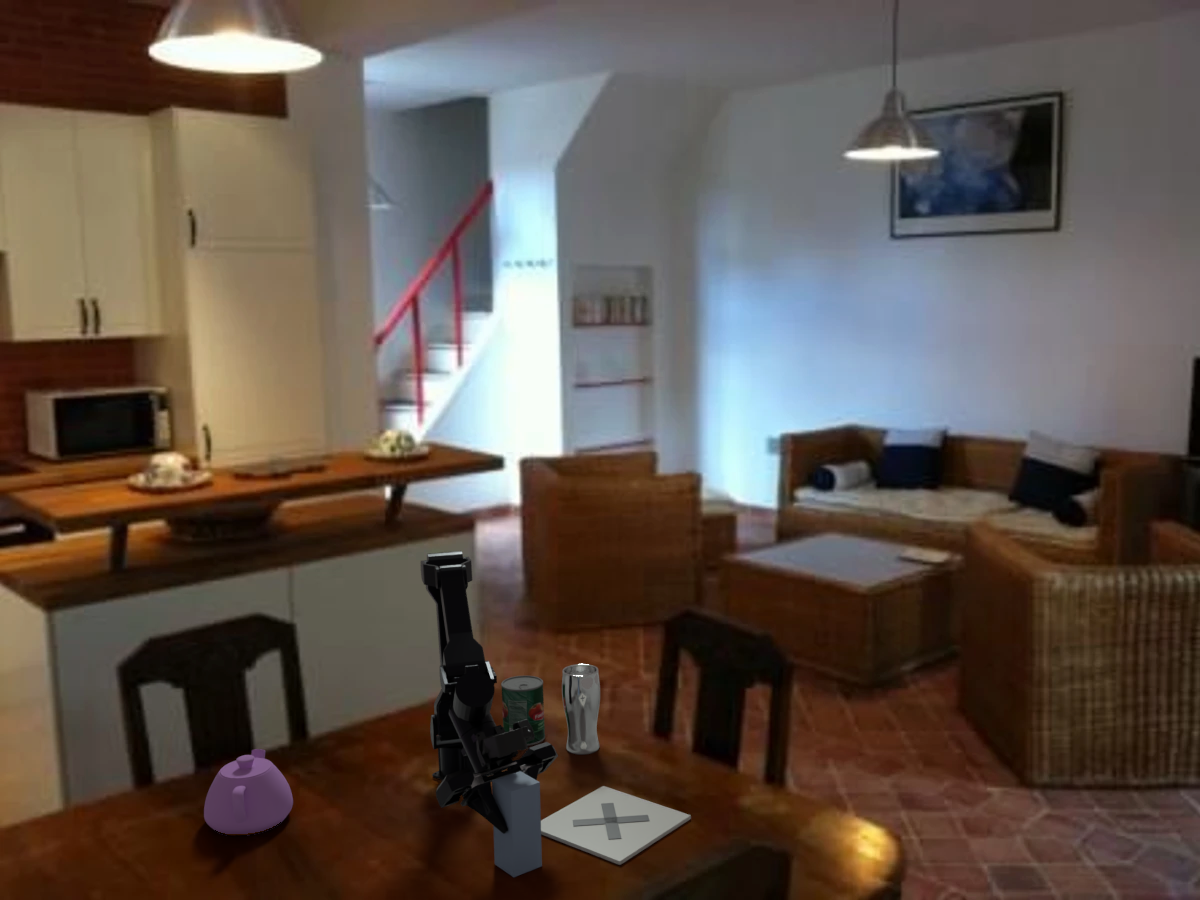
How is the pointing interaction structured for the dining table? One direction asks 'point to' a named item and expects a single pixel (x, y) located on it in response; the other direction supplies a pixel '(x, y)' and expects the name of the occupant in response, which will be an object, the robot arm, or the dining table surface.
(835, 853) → the dining table surface
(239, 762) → the teapot
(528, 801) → the blue block
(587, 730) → the beer glass
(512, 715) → the canned tomato
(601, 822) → the pad
